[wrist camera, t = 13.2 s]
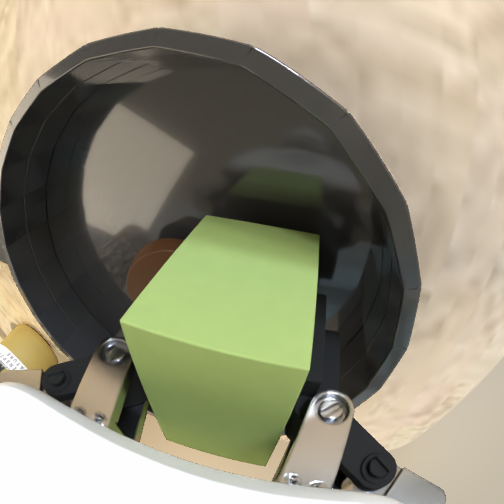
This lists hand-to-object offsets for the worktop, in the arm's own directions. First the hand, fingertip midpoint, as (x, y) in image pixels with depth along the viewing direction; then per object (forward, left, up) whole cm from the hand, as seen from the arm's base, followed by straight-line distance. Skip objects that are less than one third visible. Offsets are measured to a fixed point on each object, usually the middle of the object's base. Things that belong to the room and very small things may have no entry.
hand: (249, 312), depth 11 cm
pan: (+4, 0, -2) cm, 5 cm away
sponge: (0, 0, -1) cm, 1 cm away
